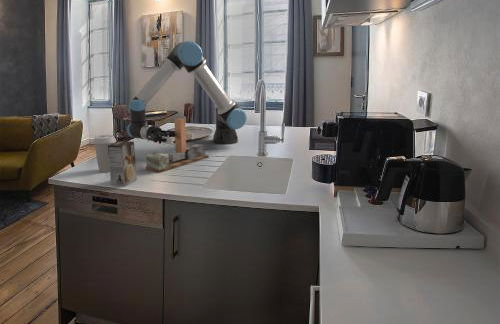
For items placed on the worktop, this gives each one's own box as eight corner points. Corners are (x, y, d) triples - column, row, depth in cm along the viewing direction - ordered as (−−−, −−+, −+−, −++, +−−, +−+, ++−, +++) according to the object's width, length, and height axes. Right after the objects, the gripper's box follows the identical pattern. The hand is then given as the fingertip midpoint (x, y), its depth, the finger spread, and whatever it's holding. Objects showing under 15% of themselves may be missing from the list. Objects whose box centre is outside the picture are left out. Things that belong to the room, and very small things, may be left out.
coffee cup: (108, 166, 172) (105, 133, 168) (123, 169, 167) (120, 136, 163) (90, 171, 164) (87, 137, 160) (105, 174, 159) (102, 140, 155)
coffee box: (122, 178, 155) (119, 140, 151) (137, 179, 154) (134, 141, 149) (110, 185, 146) (107, 145, 142) (125, 186, 145) (122, 146, 141)
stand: (195, 155, 194) (194, 142, 193) (208, 157, 190) (208, 144, 188) (145, 169, 168) (144, 154, 166) (159, 172, 163) (158, 157, 161)
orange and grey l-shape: (196, 152, 191) (195, 115, 186) (202, 153, 189) (201, 116, 184) (167, 160, 175) (165, 120, 170) (173, 161, 173) (172, 121, 168)
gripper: (170, 136, 198) (200, 142, 187) (132, 144, 178) (163, 151, 167) (169, 122, 196) (200, 127, 185) (130, 129, 176) (162, 134, 165)
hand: (183, 138), depth 176 cm, fingers open, 13 cm apart
